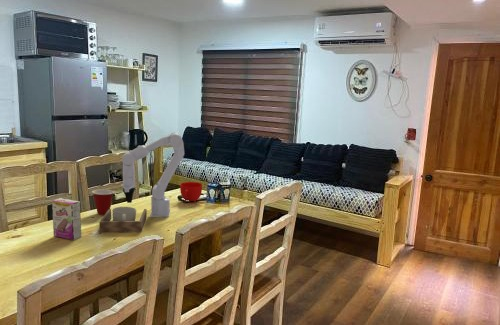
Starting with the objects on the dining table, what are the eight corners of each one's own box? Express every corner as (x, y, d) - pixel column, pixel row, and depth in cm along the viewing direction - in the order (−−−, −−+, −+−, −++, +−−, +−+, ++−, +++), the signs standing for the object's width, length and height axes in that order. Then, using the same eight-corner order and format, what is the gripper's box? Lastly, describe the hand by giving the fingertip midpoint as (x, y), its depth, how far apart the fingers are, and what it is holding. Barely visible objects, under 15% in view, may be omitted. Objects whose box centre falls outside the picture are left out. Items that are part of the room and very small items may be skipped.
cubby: (146, 218, 197) (146, 209, 196) (141, 232, 179) (141, 221, 178) (108, 218, 195) (108, 209, 194) (99, 232, 176) (99, 222, 175)
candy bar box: (52, 236, 169) (50, 200, 166) (61, 233, 174) (60, 197, 171) (73, 241, 166) (71, 203, 163) (82, 237, 170) (80, 200, 167)
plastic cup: (119, 212, 205) (118, 190, 202) (102, 218, 196) (101, 194, 193) (105, 208, 210) (105, 187, 208) (88, 213, 201) (87, 191, 199)
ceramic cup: (174, 204, 222) (174, 187, 221) (184, 197, 239) (184, 181, 237) (196, 206, 220) (196, 189, 219) (204, 198, 237) (204, 182, 235)
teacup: (115, 221, 192) (115, 205, 190) (138, 221, 193) (138, 205, 191) (108, 231, 178) (107, 214, 176) (132, 231, 179) (132, 214, 178)
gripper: (123, 173, 204) (123, 198, 206) (117, 179, 190) (118, 206, 192) (137, 173, 205) (137, 198, 207) (132, 179, 191) (133, 206, 193)
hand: (129, 202), depth 200 cm, fingers closed
